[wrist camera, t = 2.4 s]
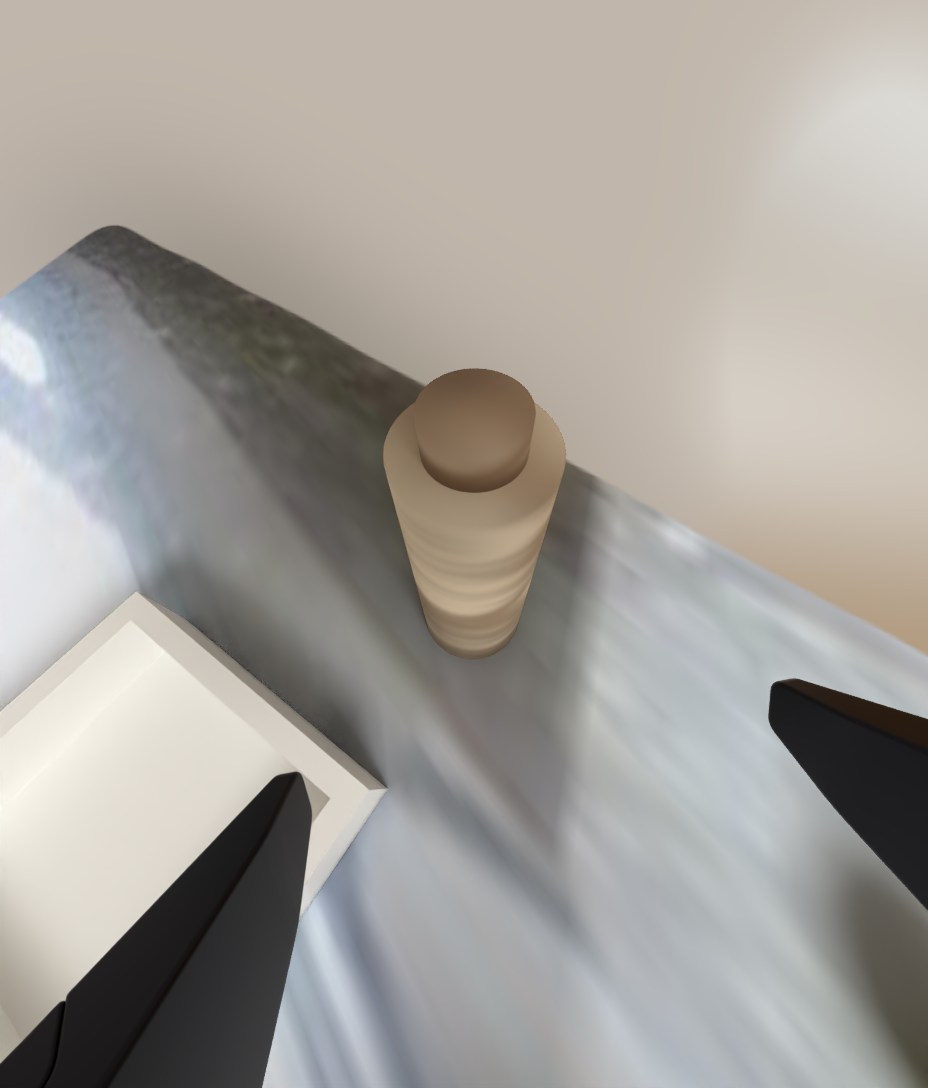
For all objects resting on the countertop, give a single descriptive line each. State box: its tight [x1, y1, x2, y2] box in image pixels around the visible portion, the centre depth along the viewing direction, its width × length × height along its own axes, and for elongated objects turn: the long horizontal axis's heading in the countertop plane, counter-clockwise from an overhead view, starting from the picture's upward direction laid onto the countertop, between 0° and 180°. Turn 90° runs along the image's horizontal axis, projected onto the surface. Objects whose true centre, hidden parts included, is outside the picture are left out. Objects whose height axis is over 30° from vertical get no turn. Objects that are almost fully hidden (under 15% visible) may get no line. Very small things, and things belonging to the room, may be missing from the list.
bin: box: [0, 591, 388, 1063], centre depth 17 cm, size 14×14×4 cm
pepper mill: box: [383, 369, 566, 659], centre depth 17 cm, size 5×5×14 cm
